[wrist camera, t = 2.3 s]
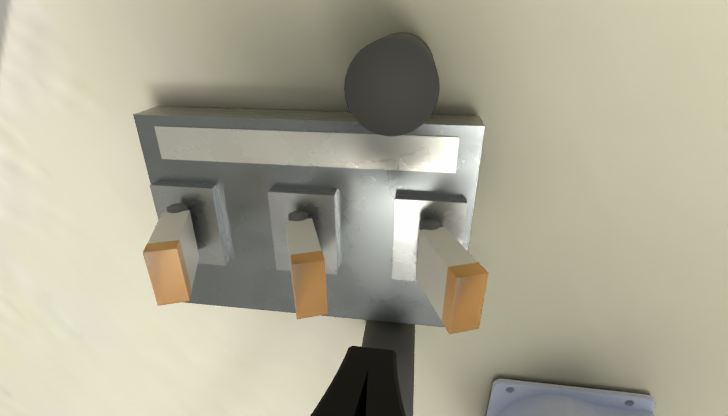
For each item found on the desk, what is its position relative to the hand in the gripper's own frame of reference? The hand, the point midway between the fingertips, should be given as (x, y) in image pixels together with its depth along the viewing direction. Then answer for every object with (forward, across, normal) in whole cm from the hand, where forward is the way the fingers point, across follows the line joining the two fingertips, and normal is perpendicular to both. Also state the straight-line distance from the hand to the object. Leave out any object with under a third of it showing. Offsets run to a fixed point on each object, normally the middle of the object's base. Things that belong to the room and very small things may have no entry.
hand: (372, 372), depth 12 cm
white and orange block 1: (+7, +4, 0) cm, 8 cm away
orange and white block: (+7, +10, 0) cm, 13 cm away
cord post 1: (+10, 0, -8) cm, 13 cm away
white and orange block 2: (+7, -2, 0) cm, 7 cm away
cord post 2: (+10, 0, +8) cm, 13 cm away
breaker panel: (+10, +4, 0) cm, 11 cm away
